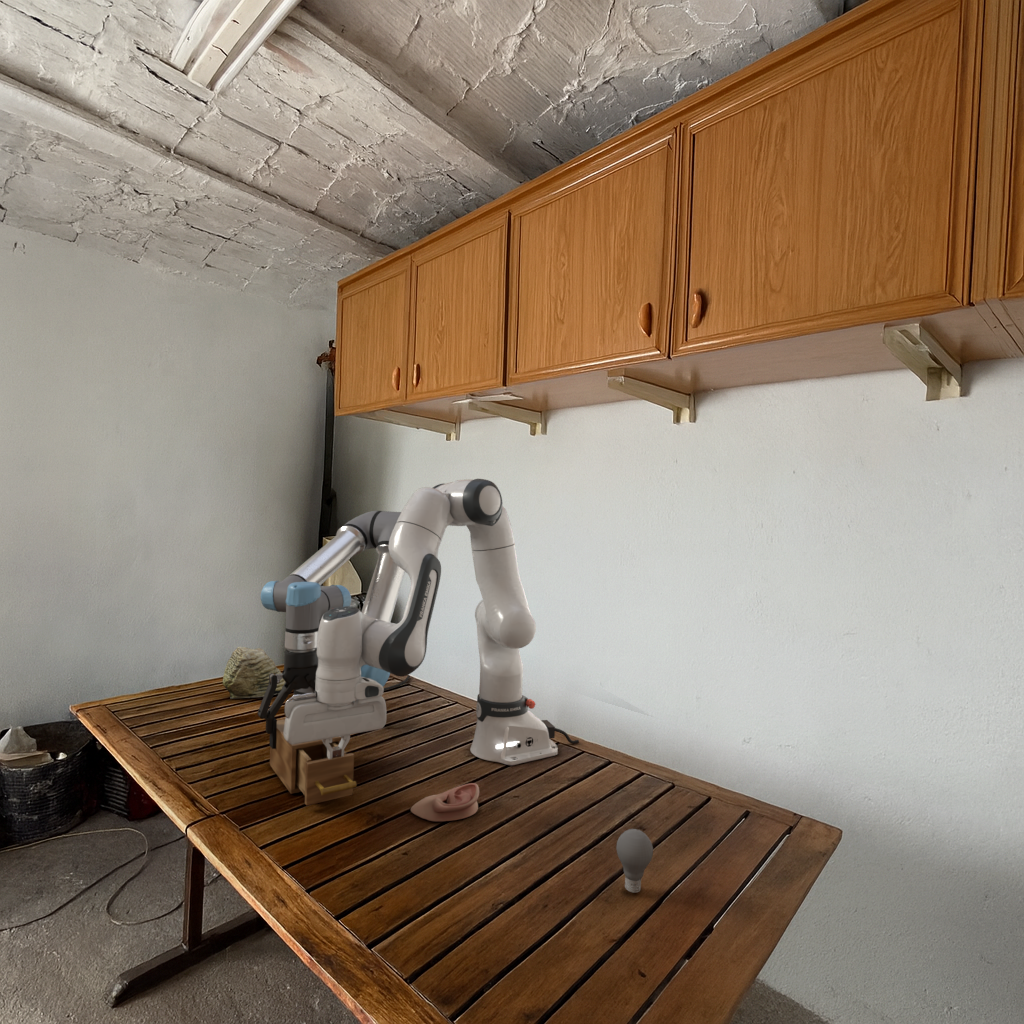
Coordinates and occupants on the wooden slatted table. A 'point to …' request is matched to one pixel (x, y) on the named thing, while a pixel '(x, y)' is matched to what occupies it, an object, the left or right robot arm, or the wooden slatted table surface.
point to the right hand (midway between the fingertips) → (335, 757)
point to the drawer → (323, 774)
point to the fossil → (249, 673)
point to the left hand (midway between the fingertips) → (298, 742)
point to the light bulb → (634, 857)
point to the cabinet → (288, 757)
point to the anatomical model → (449, 804)
